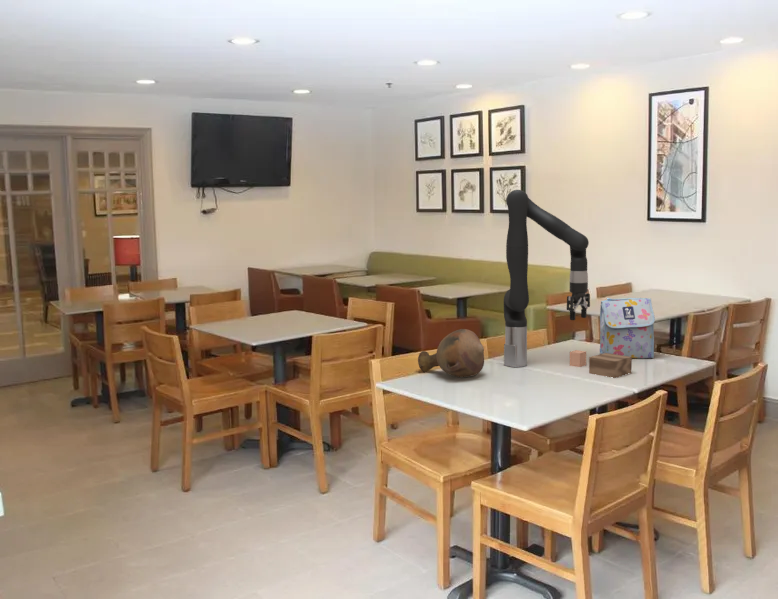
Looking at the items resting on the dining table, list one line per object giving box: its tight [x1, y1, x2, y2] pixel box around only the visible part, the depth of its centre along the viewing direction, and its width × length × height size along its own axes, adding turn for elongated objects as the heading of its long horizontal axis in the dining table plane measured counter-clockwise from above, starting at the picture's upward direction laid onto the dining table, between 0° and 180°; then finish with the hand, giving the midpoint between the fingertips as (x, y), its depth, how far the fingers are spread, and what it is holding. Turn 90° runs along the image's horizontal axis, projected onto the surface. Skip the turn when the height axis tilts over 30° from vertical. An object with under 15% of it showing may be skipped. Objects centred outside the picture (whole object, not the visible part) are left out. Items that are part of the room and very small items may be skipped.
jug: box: [417, 328, 485, 378], centre depth 318 cm, size 20×20×30 cm
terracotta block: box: [569, 349, 587, 368], centre depth 332 cm, size 5×5×6 cm
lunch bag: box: [599, 297, 656, 359], centre depth 346 cm, size 22×17×26 cm
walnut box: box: [588, 353, 633, 379], centre depth 316 cm, size 12×12×7 cm
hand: (578, 318), depth 330 cm, fingers open, 8 cm apart
